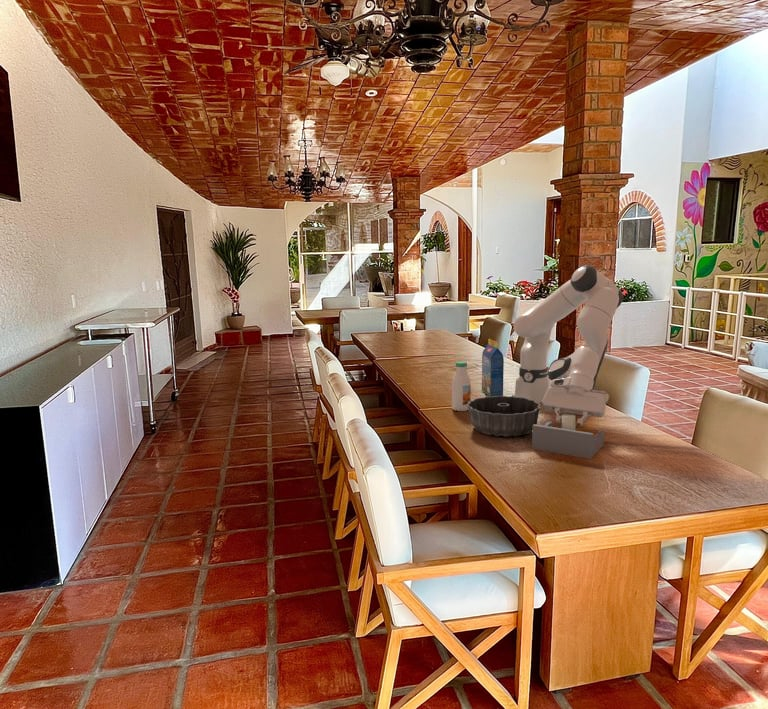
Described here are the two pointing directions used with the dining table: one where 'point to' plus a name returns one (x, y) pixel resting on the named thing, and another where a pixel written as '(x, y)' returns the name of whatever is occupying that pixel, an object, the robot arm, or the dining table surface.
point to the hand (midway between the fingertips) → (568, 423)
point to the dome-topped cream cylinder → (568, 421)
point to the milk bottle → (461, 388)
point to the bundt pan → (503, 415)
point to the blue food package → (492, 370)
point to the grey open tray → (566, 441)
